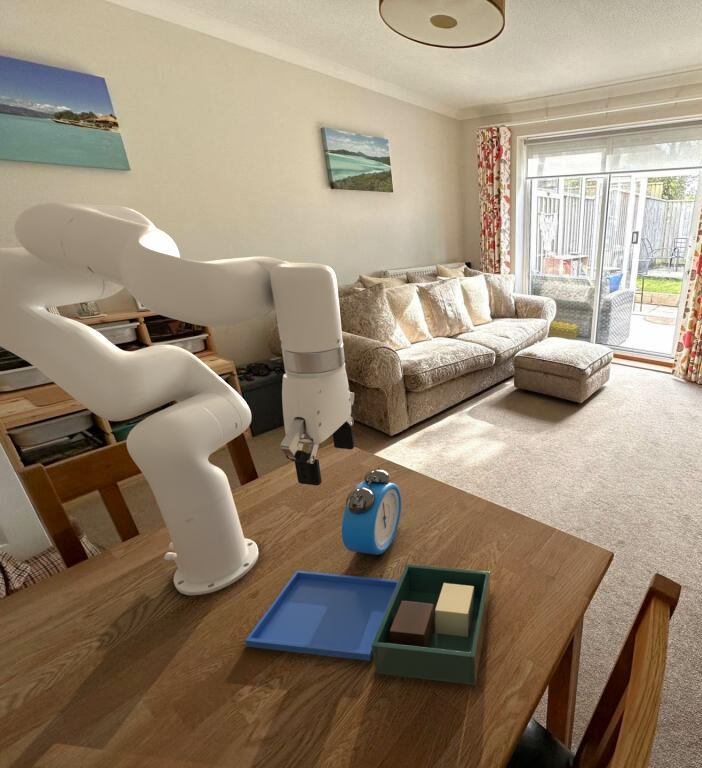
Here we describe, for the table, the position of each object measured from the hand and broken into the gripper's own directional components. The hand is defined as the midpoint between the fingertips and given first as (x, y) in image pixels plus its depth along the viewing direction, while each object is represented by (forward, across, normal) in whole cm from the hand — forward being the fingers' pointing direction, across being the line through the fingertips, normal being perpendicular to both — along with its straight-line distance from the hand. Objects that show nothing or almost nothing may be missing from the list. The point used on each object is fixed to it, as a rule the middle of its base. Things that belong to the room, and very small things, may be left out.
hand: (328, 464), depth 61 cm
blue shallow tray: (+25, +6, +1) cm, 26 cm away
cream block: (+24, +5, +21) cm, 32 cm away
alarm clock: (+25, -10, +2) cm, 27 cm away
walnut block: (+24, +9, +16) cm, 30 cm away
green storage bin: (+24, +7, +19) cm, 31 cm away
